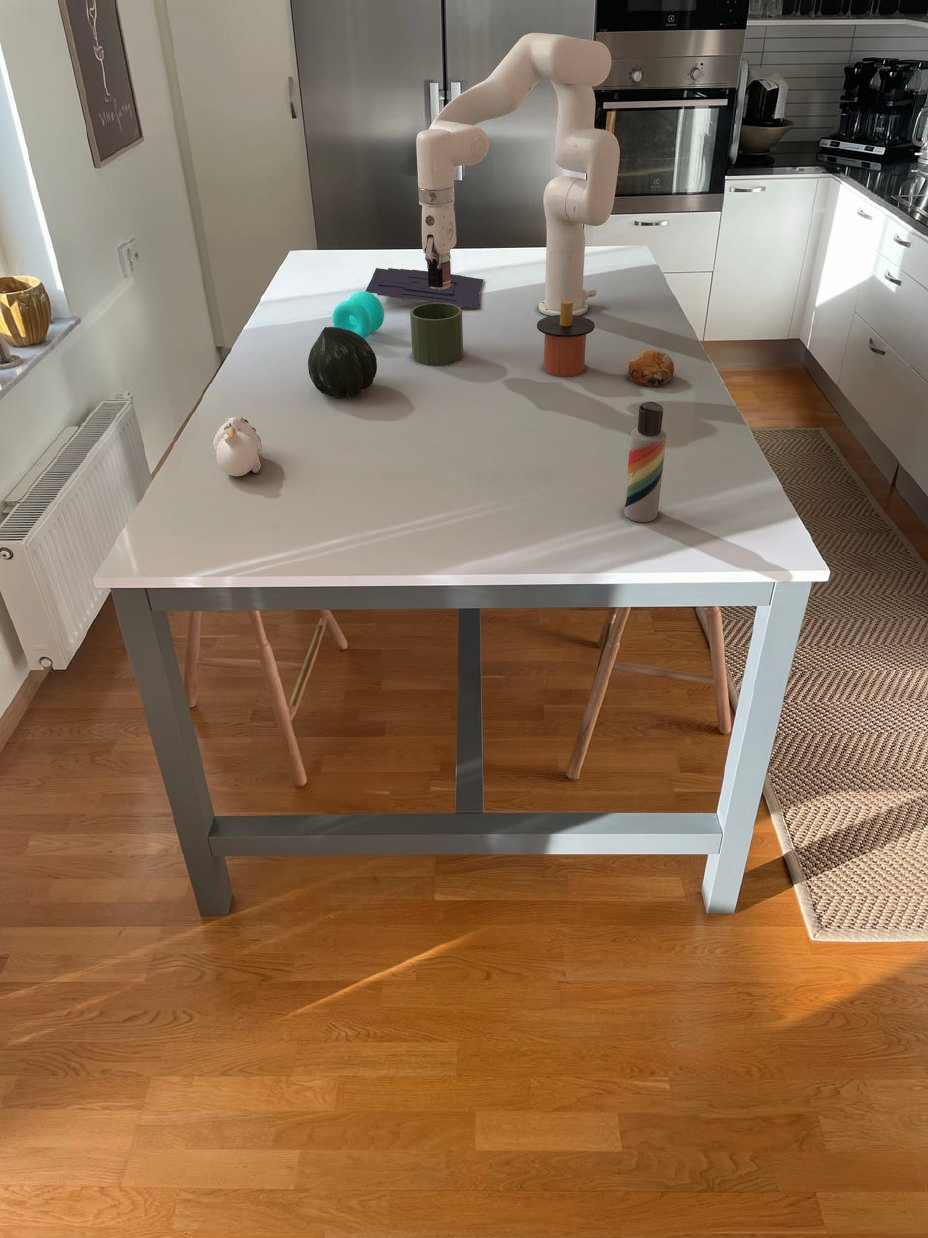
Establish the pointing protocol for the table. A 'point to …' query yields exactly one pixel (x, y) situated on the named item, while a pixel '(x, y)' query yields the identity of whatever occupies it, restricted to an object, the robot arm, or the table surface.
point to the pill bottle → (444, 271)
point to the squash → (341, 363)
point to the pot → (436, 333)
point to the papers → (425, 287)
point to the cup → (564, 355)
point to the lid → (565, 323)
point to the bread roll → (651, 368)
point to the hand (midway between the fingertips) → (439, 281)
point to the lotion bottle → (645, 464)
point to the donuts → (359, 314)
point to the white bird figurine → (237, 447)
